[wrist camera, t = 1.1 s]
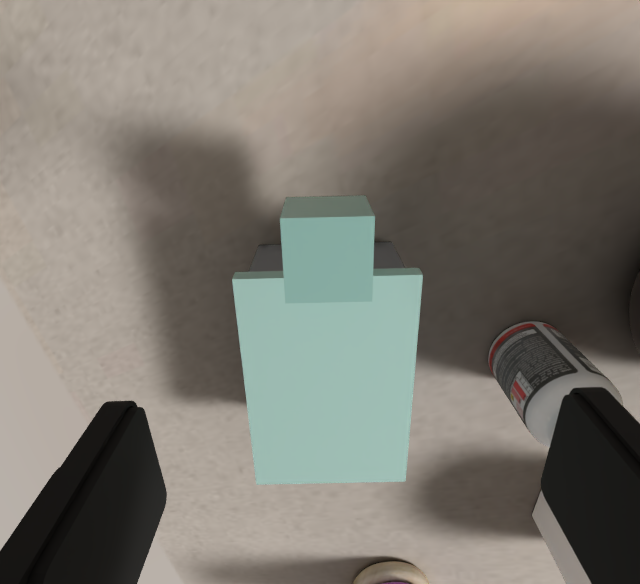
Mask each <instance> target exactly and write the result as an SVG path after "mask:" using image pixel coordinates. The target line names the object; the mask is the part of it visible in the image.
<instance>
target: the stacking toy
mask: <svg viewBox="0 0 640 584" xmlns="http://www.w3.org/2000/svg"><path fill="white" fill-rule="evenodd" d="M353 584H429V582H428V579H427V578H426V576H425V575H424V573H423V572H422V571H421V570H420V569H418V568H417V567H415V566H413V565H411V564H408V563H404V562H397V561H389V562H382V563H377V564H374V565H371V566H369V567H367V568H366V569H364V570H363V571H362V572H361V573H360V574H359V575H358V576H357V577H356V579H355V580H354V582H353Z"/></svg>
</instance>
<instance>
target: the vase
mask: <svg viewBox="0 0 640 584" xmlns="http://www.w3.org/2000/svg"><path fill="white" fill-rule="evenodd" d="M629 322H630V329H631V333H632V337H633V340H634V344H635V346H636V348H637V351H638V353H639V355H640V270H639V272H638V275H637V277H636V280H635V282H634V285H633V289H632V292H631V297H630V304H629Z"/></svg>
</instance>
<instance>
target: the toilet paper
mask: <svg viewBox="0 0 640 584" xmlns="http://www.w3.org/2000/svg"><path fill="white" fill-rule="evenodd" d="M532 517H533V519H534V521H535V523H536V525H537V527H538V529H539V531H540V533H541V535H542V537H543V539H544V540H545V542H546V544H547V546H548V548H549V550H550V552H551V554H552V556H553V558H554V560H555V562H556V564H557V566H558V568H559V570H560V572H561V574H562V576H563V578H564V580H565V582H566V584H591V582H590V580H589V578H588V576H587V575H586V573H585V571H584V569H583V567H582V565H581V564H580V562H579V560H578V558H577V556H576V555H575V553H574V551H573V549H572V547H571V545H570V544H569V542H568V540H567V538H566V536H565V535H564V533H563V531H562V529H561V527H560V525H559V524H558V522H557V520H556V518H555V516H554V514H553V513H552V511H551V509H550V507H549V505H548V504H547V502H546V500H545V498H544V496H543V493H542V491H541V492H540V494H539V497H538V500H537V503H536V505H535V508H534V511H533V513H532Z"/></svg>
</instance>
